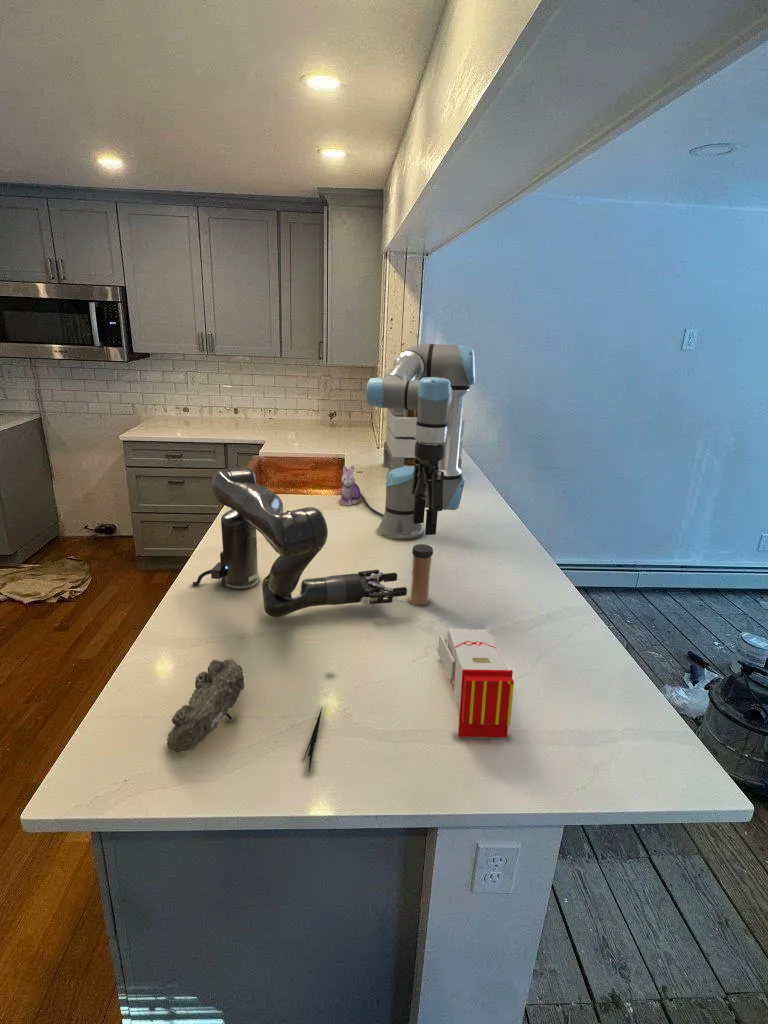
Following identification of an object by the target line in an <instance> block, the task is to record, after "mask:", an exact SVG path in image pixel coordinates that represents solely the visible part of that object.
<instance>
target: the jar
mask: <svg viewBox="0 0 768 1024" xmlns="http://www.w3.org/2000/svg"><path fill="white" fill-rule="evenodd" d="M432 556H433V555H432ZM432 556H431V557H429V558H419V557H416V556H414V555H413V554H412V566H411V568H412V569H411V579H410V580H411V583H410V595H409V602H410V603H411V604H412V605H414V606H420V607H421V606H425V605H427V604H428V603H429V595H430V582H431V568H432Z"/></svg>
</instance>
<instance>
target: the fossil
mask: <svg viewBox="0 0 768 1024" xmlns="http://www.w3.org/2000/svg"><path fill="white" fill-rule="evenodd" d="M243 670H244V669H243V667H242V665H240V664H237V662H236V661H235V660H234V659H232V658H231V659H227V658H226V659H224V660H223V661H222V660H217V659H212V660H211V661H210V663H209V665H208V666H207V671H201V672H199V673H198V674H197V675H196V676H195V680H194V684H195V685H194V687H195V689H194V690H193V693H192V694H191V697H190V698H189V700H188V704H184V705H182V706H181V707H180V709H177V710H176V711H175V713H174V715H173V716H172V718H171V723H172V724H173V727H172V730H171V731H170V732H168V734H167V738H166V741H167V742H166V745H167V749H168V750H169V751H173V752H174V753H176V754H178V753H182V752H188V751H189V752H192V751H193V750H195V748H196V747H197V746H199V744H200V743H201V742H203V741H204V740H205V739H206V738H207V737H208V736H209V735H210V734H211V733H212V732H214V730H215V729H217V727H218V726H219V724H220V722H221V721H222V720H223V719H224V718H225V716H226V717H227V719H229V720H233V717H232V715H230V714H229V710H230V709H231V708H234V706H235V704H236V703H237V702H238V699H239V697H240V695H241V693H242V691H243V690H245V689H244V688H245V675H244V671H243Z"/></svg>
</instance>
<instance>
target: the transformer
mask: <svg viewBox="0 0 768 1024" xmlns="http://www.w3.org/2000/svg"><path fill="white" fill-rule="evenodd" d="M385 414H386V415H385V423H386V428H385V438H384V442H383V466H384V467H388V468H389V472H390V471H391V470H393V469H396V468H400V467H405V466H406V467H415V466H414V460H415V459H418V458H416V457H415V455H414V454H415V443H416V442H417V441H416V439H415V434H416V424H417V410H407V409H392V408H386V413H385ZM464 429H465V419H464V418H462V425H461V436H460V447H459V459H458V468H459V469H460V470H461V471H462V461H463V460H462V453H463V442H464V441H463V440H462V439H463V438H464V431H465V430H464Z"/></svg>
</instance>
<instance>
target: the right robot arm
mask: <svg viewBox="0 0 768 1024" xmlns="http://www.w3.org/2000/svg"><path fill="white" fill-rule="evenodd" d="M475 363H476V362H475V351H474V349H473V348H472V347H471V346H467V345H461V344H441V343H439V344H438V343H419V344H416V345H413V346H410V347H408V348H406V349H404V350H402V351H400V353H399V354H397V356H396V357H395V359H394V361H393V366H392V367H391V368H390V369H389V371H388V372H387V373H386V375H384V377H371V378H369V380H368V381H367V385H366V392H365V394H366V395H365V396H366V398H365V399H366V402H367V405H368V406H369V407H374V408H379V409H387V408H392V409H407V410H417V424H416V434H415V439H416V441H417V442H416V443H415V454H414V455H415V457H416V458H418V459H415V460H414V466H404V467H400V468H396V469H393V470H391V471H390V470H389V472H388V473H387V475H386V482H385V504H384V505H385V507H384V508H385V509H384V513H381V512H379V511H378V510H375V509H374V508H373V507H371V506H370V505H369V503H368V502H367V500H366V498H365V497H364V495H363V494H362V493H361V496H360V499H361V500H362V501H363V503H364V505H365V506H366V507H367V508H368V509H369V511H371V512H372V513H374V514H376V515H378V516H380V517H382V519H381V522H379V525H378V533H379V534H380V535H381V536H382V537H385V538H387V539H389V540H395V541H410V540H415V539H418V538H420V537H421V536H422V535H423V525H422V524H424V523H425V529H424V535H425V536H433V535H434V536H436V535H437V525H438V512H442V511H456V510H458V509H459V508H460V504H461V501H462V495H463V493H464V492H463V491H464V486H465V483H466V477H465V476H462V475H463V474H462V473H463V472H462V469H461V470H460V469H459V468H458V459H459V447H460V439H461V438H460V436H461V425H462V419H463V414H464V413H463V412H464V402H465V395H466V394H467V393H468V392H469V391H470V388H471V386H472V385H475V383H476V364H475ZM425 513H426V514H425Z"/></svg>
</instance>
